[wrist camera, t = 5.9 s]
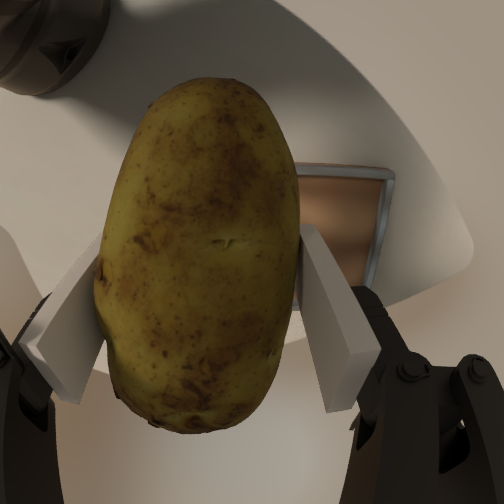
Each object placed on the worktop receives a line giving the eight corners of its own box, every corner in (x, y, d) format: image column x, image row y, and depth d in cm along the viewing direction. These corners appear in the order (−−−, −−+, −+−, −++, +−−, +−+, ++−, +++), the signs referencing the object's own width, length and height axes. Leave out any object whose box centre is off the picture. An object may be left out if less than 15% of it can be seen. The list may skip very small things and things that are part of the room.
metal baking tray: (275, 161, 26) (277, 165, 25) (387, 168, 27) (395, 173, 25) (269, 302, 35) (271, 311, 34) (360, 296, 36) (365, 305, 34)
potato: (356, 154, 12) (484, 227, 5) (233, 343, 17) (237, 463, 10) (188, 66, 9) (112, 2, 2) (105, 296, 14) (54, 411, 8)
